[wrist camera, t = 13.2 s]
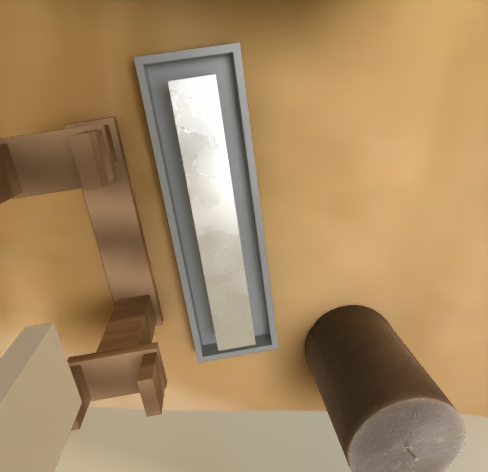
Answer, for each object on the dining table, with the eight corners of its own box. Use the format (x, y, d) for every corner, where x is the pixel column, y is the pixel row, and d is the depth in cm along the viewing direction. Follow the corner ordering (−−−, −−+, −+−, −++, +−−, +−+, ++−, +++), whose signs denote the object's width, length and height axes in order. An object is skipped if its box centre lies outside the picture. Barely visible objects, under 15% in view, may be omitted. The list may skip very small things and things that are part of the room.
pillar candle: (307, 306, 42) (360, 414, 27) (396, 303, 42) (491, 407, 28) (301, 381, 45) (345, 513, 31) (384, 378, 46) (464, 503, 32)
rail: (171, 83, 33) (167, 81, 29) (214, 77, 33) (215, 74, 30) (217, 330, 41) (218, 350, 37) (251, 324, 41) (255, 344, 38)
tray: (138, 60, 32) (133, 57, 30) (237, 46, 33) (239, 42, 30) (198, 348, 42) (198, 362, 40) (274, 334, 42) (278, 348, 40)
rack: (52, 126, 33) (-43, 142, 20) (130, 114, 34) (85, 123, 21) (111, 328, 40) (67, 437, 27) (175, 317, 40) (162, 419, 27)
